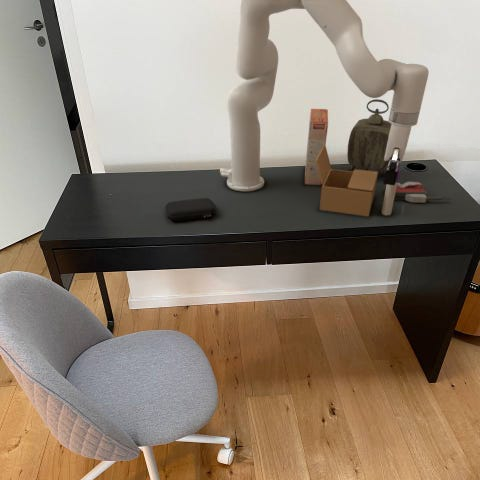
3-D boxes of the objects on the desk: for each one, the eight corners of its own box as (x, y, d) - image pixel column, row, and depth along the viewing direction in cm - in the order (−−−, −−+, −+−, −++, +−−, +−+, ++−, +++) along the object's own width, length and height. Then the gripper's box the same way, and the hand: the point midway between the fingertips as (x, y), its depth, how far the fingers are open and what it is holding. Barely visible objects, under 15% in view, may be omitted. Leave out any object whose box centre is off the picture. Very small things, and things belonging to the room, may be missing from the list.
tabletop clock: (390, 174, 173) (404, 98, 157) (384, 184, 166) (399, 106, 150) (349, 167, 177) (359, 93, 162) (342, 177, 171) (352, 101, 155)
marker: (380, 215, 149) (388, 170, 140) (381, 211, 152) (389, 166, 143) (390, 216, 149) (399, 171, 140) (391, 212, 151) (400, 167, 142)
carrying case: (169, 225, 145) (218, 219, 148) (168, 216, 143) (218, 210, 146) (164, 209, 153) (211, 204, 156) (163, 200, 151) (211, 195, 154)
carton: (319, 210, 152) (322, 183, 146) (327, 192, 162) (330, 166, 157) (368, 217, 148) (373, 190, 143) (373, 198, 158) (378, 171, 153)
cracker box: (322, 186, 166) (328, 121, 152) (304, 185, 166) (309, 121, 153) (322, 169, 176) (328, 108, 163) (305, 168, 177) (310, 107, 164)
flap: (322, 184, 147) (321, 184, 147) (330, 166, 157) (329, 166, 157) (316, 160, 143) (315, 160, 143) (325, 144, 153) (324, 144, 153)
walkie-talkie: (386, 203, 155) (450, 204, 155) (388, 190, 153) (454, 191, 152) (381, 191, 162) (442, 192, 161) (383, 178, 159) (446, 179, 159)
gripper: (392, 105, 139) (380, 164, 150) (386, 125, 127) (374, 188, 138) (419, 108, 138) (406, 167, 149) (416, 128, 125) (401, 191, 136)
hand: (390, 177), depth 143 cm, fingers open, 9 cm apart
